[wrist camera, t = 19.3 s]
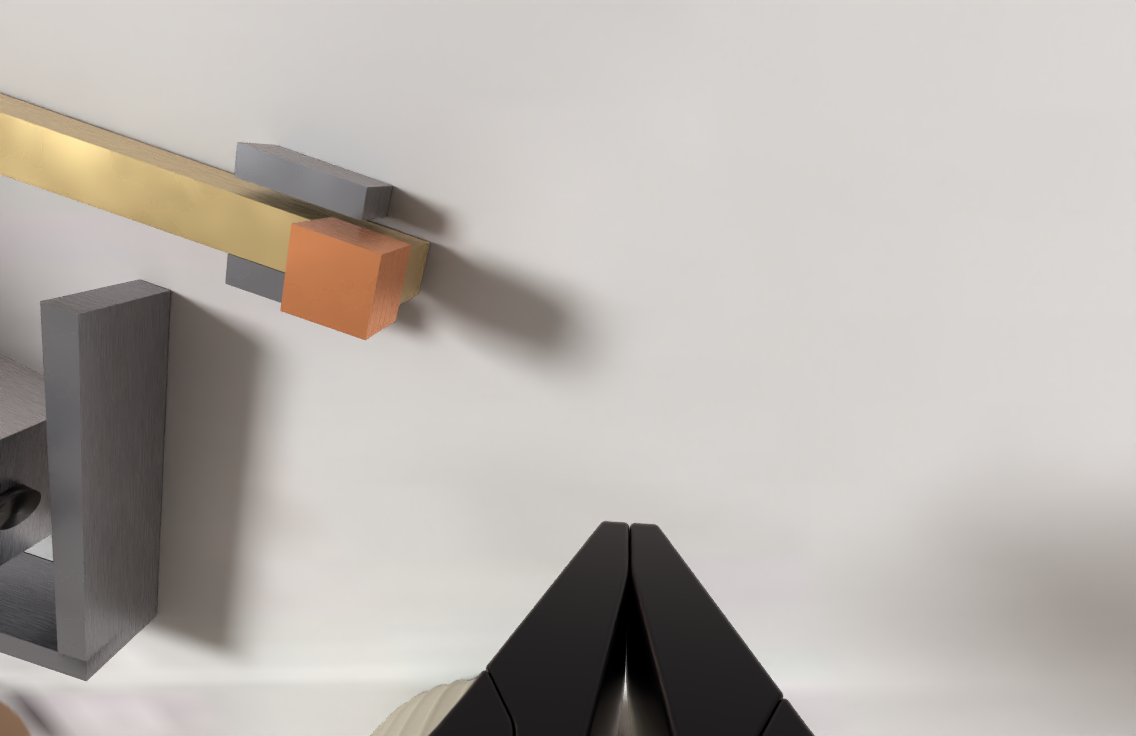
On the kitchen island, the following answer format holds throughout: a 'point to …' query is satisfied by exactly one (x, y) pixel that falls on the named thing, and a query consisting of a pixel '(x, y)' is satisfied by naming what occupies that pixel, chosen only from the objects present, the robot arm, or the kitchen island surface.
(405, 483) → the kitchen island surface
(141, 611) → the dock
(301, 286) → the lock bar
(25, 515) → the block
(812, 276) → the kitchen island surface
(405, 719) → the canister
